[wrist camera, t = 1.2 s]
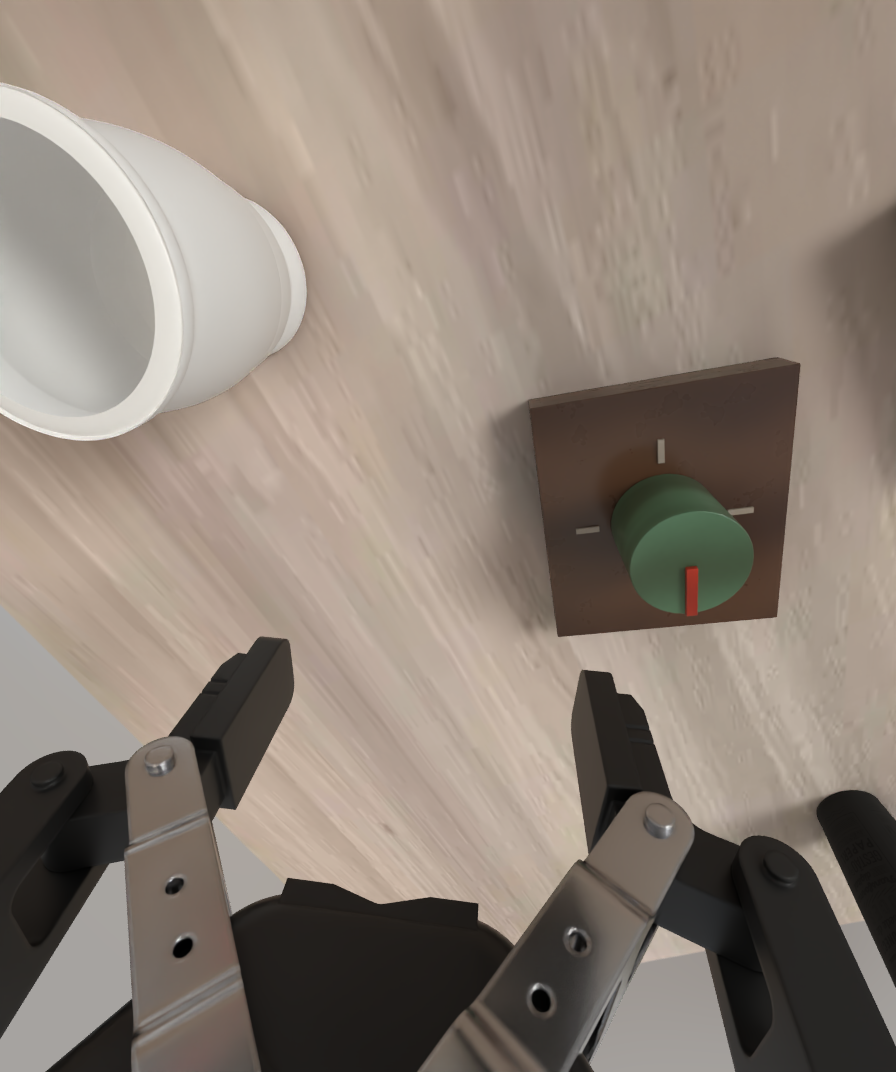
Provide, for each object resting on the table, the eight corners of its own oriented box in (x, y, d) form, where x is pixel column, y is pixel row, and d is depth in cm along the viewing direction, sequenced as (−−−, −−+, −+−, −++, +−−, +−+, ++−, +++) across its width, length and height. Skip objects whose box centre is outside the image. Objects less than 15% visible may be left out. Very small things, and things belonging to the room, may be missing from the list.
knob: (608, 481, 31) (628, 522, 25) (716, 466, 30) (760, 505, 24) (613, 569, 33) (633, 622, 28) (713, 557, 32) (753, 611, 27)
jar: (350, 352, 31) (234, 406, 18) (202, 392, 33) (-2, 467, 20) (284, 143, 27) (65, 9, 14) (118, 204, 29) (-213, 141, 16)
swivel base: (527, 399, 31) (529, 409, 29) (778, 356, 29) (802, 363, 27) (555, 616, 38) (558, 638, 36) (760, 596, 36) (778, 619, 33)
